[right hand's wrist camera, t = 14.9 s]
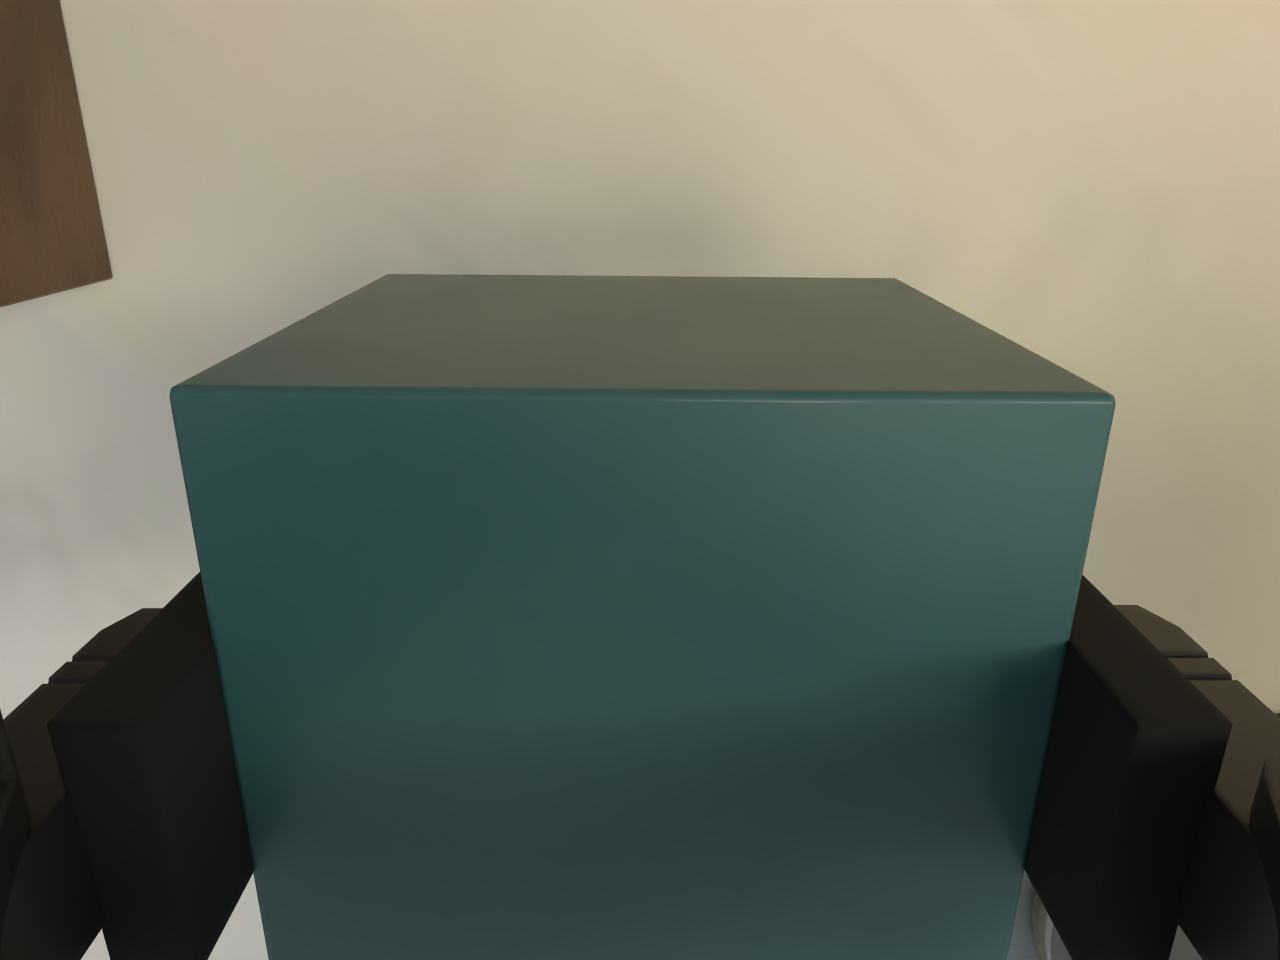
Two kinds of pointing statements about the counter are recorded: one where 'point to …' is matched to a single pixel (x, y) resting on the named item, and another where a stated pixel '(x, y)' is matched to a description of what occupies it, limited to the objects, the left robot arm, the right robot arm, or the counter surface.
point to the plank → (43, 162)
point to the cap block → (639, 615)
